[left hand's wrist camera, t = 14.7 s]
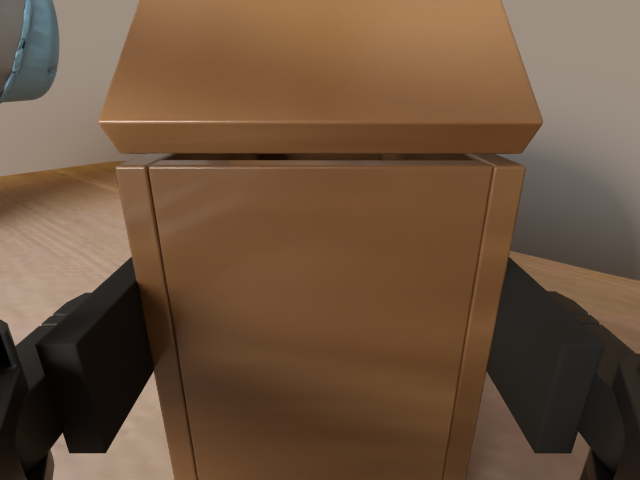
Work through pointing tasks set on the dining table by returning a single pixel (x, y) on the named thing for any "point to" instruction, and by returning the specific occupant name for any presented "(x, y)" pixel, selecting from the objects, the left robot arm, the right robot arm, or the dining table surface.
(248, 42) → the lid
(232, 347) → the chest
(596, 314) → the dining table surface
